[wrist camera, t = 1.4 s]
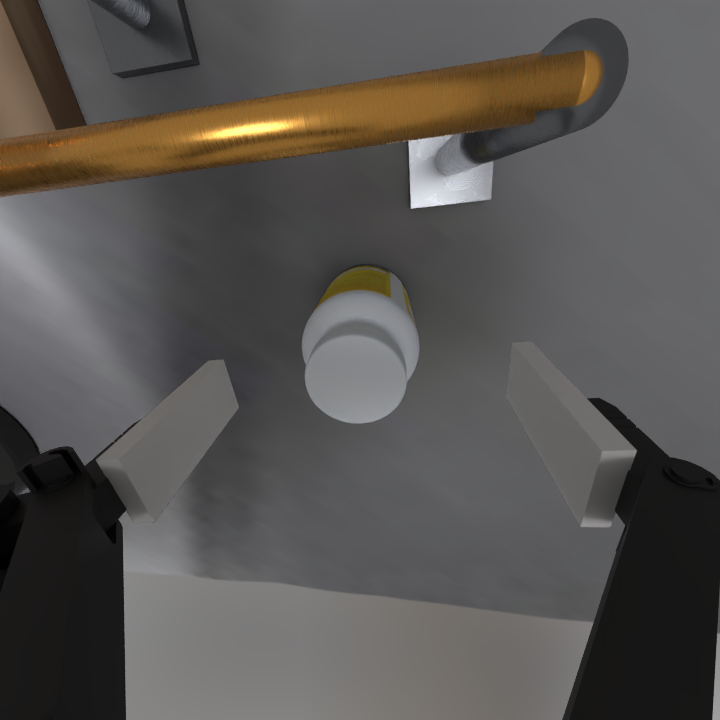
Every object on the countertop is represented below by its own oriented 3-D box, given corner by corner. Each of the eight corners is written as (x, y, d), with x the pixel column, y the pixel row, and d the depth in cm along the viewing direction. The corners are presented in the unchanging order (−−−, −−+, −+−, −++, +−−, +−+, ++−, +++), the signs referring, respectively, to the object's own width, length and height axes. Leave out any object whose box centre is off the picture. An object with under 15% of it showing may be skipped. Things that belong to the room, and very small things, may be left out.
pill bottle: (310, 288, 25) (254, 354, 14) (385, 246, 23) (384, 285, 13) (352, 357, 27) (330, 455, 17) (424, 322, 25) (450, 409, 15)
